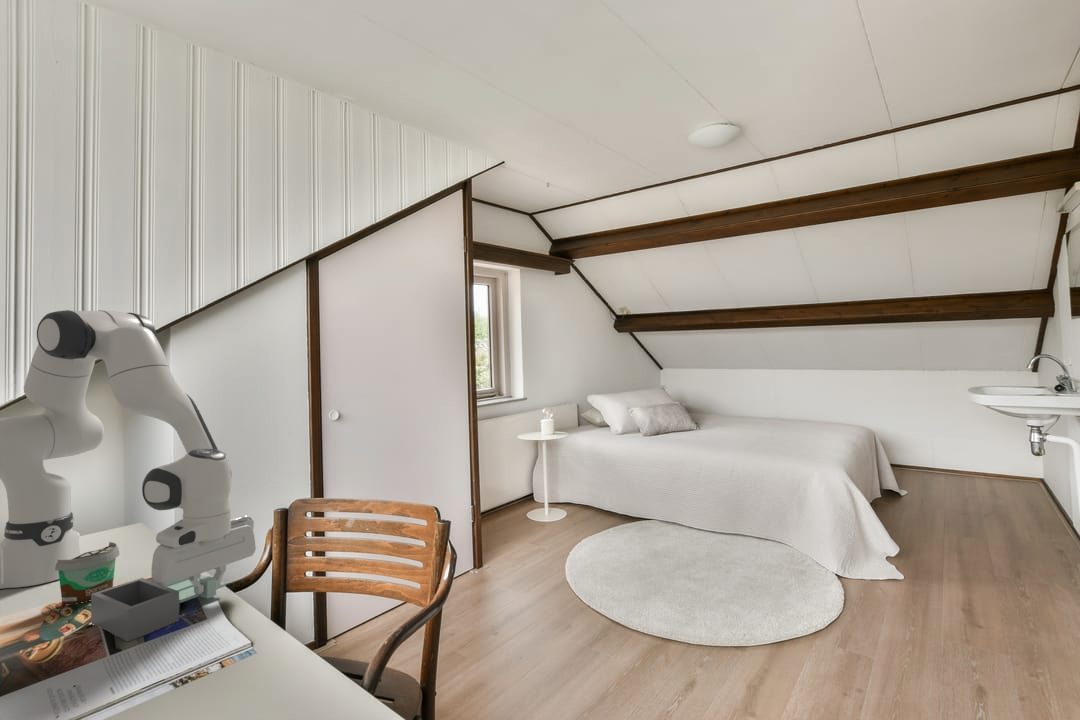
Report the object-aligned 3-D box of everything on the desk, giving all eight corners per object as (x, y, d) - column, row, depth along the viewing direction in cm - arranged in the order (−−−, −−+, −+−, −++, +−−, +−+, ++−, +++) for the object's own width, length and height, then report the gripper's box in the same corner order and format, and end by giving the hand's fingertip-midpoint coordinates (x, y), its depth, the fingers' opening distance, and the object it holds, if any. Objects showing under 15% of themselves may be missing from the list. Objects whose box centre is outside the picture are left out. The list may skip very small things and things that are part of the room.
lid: (143, 588, 119) (143, 572, 119) (188, 573, 128) (188, 558, 128) (188, 605, 111) (188, 588, 111) (233, 588, 119) (233, 572, 119)
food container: (78, 610, 113) (78, 562, 113) (54, 607, 114) (54, 560, 114) (133, 586, 125) (133, 543, 125) (111, 583, 126) (111, 541, 126)
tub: (91, 624, 107) (91, 593, 107) (142, 605, 115) (142, 577, 115) (127, 641, 101) (127, 609, 101) (179, 621, 108) (179, 591, 108)
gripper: (244, 511, 126) (244, 570, 126) (147, 537, 108) (147, 605, 108) (261, 515, 123) (261, 575, 123) (164, 542, 105) (164, 613, 105)
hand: (207, 590), depth 116 cm, fingers closed on lid, 2 cm apart
